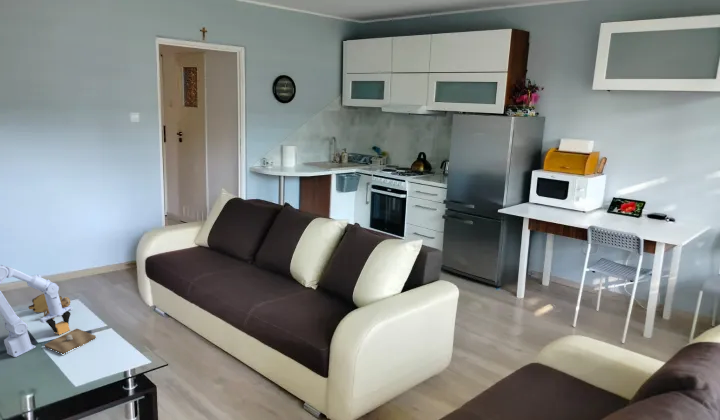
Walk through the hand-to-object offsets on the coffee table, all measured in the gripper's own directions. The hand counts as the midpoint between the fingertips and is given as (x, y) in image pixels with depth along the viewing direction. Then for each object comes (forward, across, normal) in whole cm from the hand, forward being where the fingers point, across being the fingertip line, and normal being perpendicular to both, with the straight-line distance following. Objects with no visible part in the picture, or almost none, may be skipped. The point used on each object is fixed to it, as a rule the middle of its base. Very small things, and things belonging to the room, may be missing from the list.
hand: (61, 328), depth 257 cm
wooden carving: (+2, +10, +33) cm, 35 cm away
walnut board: (+2, -4, -15) cm, 16 cm away
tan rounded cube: (+1, 0, 0) cm, 1 cm away
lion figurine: (+2, +9, +20) cm, 22 cm away
